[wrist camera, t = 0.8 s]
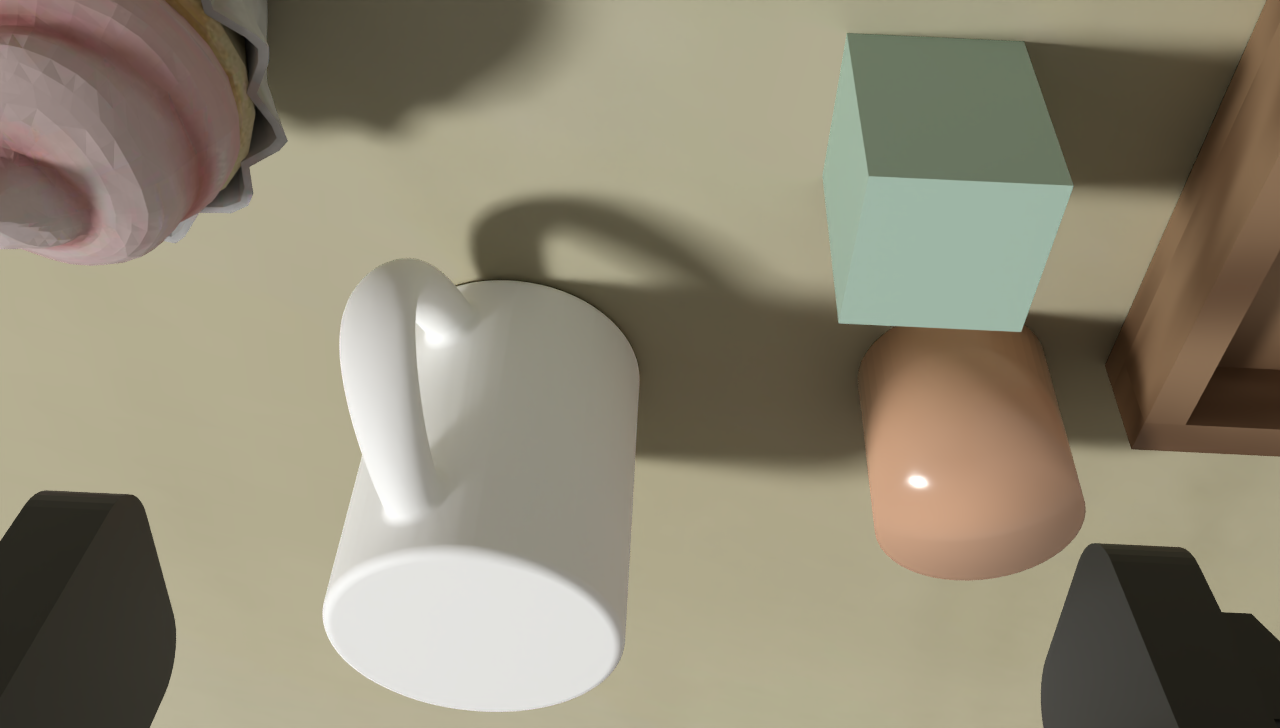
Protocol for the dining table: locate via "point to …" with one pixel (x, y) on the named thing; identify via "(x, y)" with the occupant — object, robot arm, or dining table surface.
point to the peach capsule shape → (966, 452)
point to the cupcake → (128, 121)
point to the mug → (484, 490)
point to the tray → (1215, 285)
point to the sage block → (940, 183)
